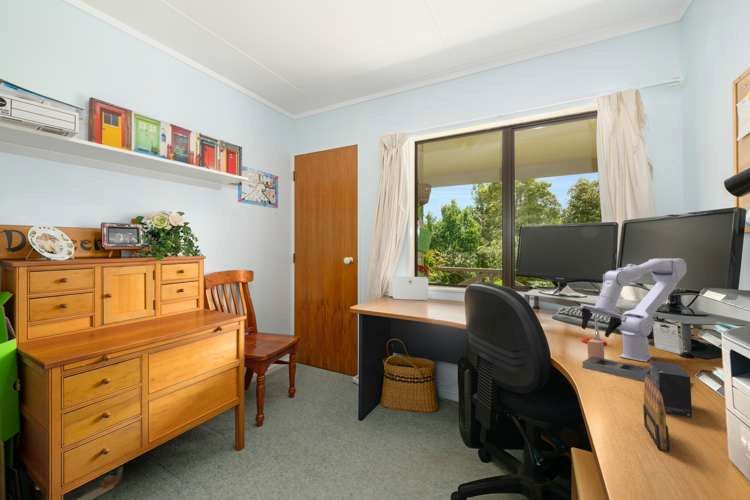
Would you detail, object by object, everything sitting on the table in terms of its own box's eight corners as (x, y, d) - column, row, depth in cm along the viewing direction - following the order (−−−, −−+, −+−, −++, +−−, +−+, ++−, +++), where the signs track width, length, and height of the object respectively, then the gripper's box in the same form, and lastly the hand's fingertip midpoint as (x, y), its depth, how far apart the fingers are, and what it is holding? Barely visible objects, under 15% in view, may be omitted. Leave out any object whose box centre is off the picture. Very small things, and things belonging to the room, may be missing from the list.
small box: (695, 419, 76) (692, 376, 76) (659, 413, 79) (657, 372, 79) (681, 401, 85) (679, 362, 85) (650, 396, 88) (648, 359, 88)
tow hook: (578, 340, 146) (588, 345, 137) (576, 313, 147) (586, 315, 138) (597, 340, 145) (609, 345, 136) (595, 312, 146) (607, 315, 137)
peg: (592, 356, 122) (591, 339, 123) (604, 359, 119) (603, 341, 119) (588, 359, 120) (587, 341, 120) (600, 361, 117) (599, 343, 117)
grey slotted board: (592, 361, 117) (592, 356, 117) (689, 382, 96) (688, 375, 96) (582, 367, 112) (582, 361, 112) (683, 390, 91) (682, 383, 91)
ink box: (658, 347, 130) (657, 320, 131) (685, 354, 121) (683, 324, 121) (653, 348, 130) (651, 320, 130) (679, 354, 121) (677, 325, 121)
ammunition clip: (644, 424, 74) (640, 374, 75) (654, 426, 74) (650, 375, 74) (658, 450, 65) (654, 392, 65) (670, 452, 64) (666, 393, 64)
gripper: (583, 290, 121) (570, 322, 120) (628, 301, 110) (614, 337, 108) (588, 296, 125) (576, 327, 124) (633, 308, 114) (619, 342, 112)
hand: (594, 332), depth 116 cm, fingers open, 7 cm apart
